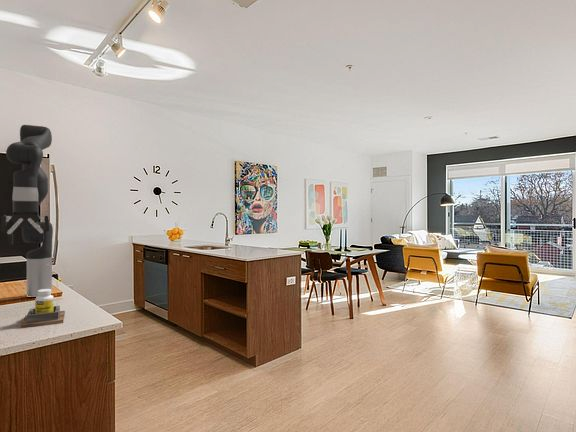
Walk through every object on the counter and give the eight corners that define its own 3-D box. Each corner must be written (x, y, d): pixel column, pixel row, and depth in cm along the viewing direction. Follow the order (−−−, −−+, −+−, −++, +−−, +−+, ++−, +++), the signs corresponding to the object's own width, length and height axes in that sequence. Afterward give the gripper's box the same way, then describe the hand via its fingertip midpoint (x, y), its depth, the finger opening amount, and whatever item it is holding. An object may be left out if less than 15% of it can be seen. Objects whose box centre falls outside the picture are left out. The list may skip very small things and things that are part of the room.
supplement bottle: (33, 320, 120) (33, 292, 120) (36, 315, 125) (36, 288, 125) (52, 318, 123) (52, 291, 122) (54, 314, 127) (54, 287, 127)
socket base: (25, 317, 126) (25, 308, 126) (64, 313, 132) (64, 304, 132) (20, 328, 116) (20, 317, 115) (63, 322, 122) (63, 312, 121)
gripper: (50, 200, 134) (50, 241, 135) (2, 199, 127) (3, 243, 127) (48, 200, 128) (49, 244, 128) (-2, 199, 120) (-1, 246, 121)
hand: (26, 243), depth 128 cm, fingers open, 8 cm apart
